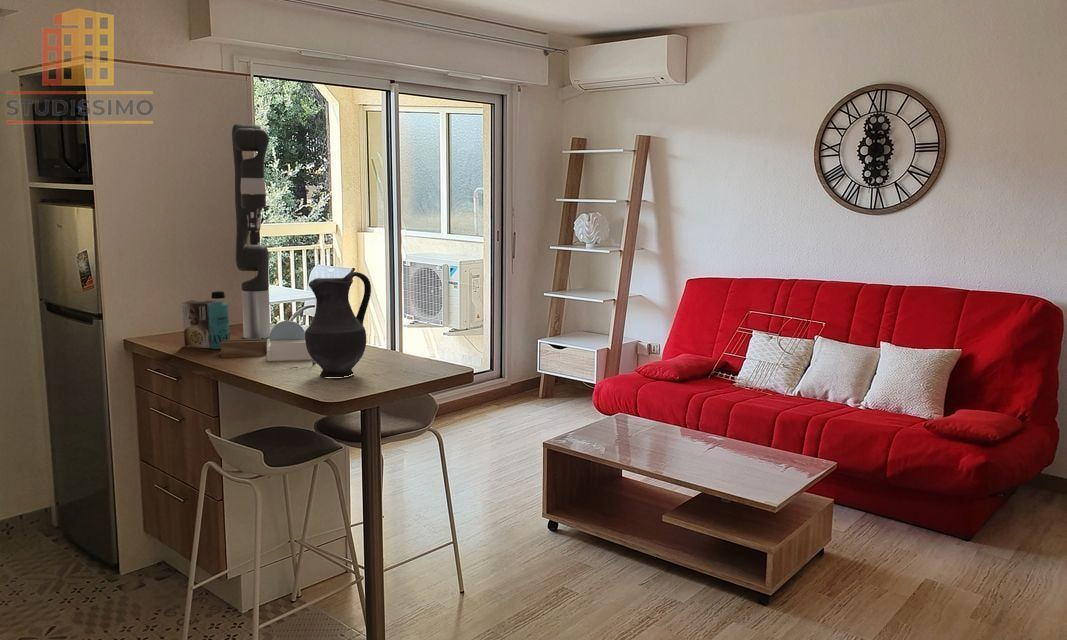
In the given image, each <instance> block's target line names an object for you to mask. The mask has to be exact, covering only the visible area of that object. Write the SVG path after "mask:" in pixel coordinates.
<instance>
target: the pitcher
mask: <svg viewBox="0 0 1067 640" xmlns="http://www.w3.org/2000/svg"><path fill="white" fill-rule="evenodd" d="M354 277H358V279H360V280H361V281H362V283H363V287H364V289H363V291H364V292H363V297H362V300H361V302H360V305H359V308H358V311H357V314H356V315H355V314H354V311H353V309H352V306H351V303H350V301H349V300H350V299H349V294H350V290H351V286H352V284H353V282H354V280H353V278H354ZM308 286H309V288H310V290H311V291H312V292H313V294H314V296H315V299H316V303H315V304H316V305H315V313H314V316H313V319H312V321H311V323H310V324H309V326H308V327H306V329H305V330H304V331H305V342H306V348H307V350H308V353H309V355H310V356H311V358H312V359H311V360H312V361H313V360H314V361H315V362H316V363H315V364H317V365H318V366H319V367H320V368H321V370H322V371H321V372H320V374H319V377H321V378H322V377H344V376H349V375H351V374H353V373H354V371H353V369H354V367H356V365H357V364H358V363H359V362H360V360H361V359H362V358H363V355H364V353H365V351H366V346H367V333H366V329H365V326H364V320H365V315H366V313H367V309H368V306H369V302H370V299H371V294H372V285H371V281H370V279H369V277H368V276H367V275H365V274H363V273H361V272H359V271H354V272H353V271H352V272H350V273H348V274H346V275H345V276H344V277H333V278H332V277H329V278H328V277H326V278H325V277H324V278H323V277H322V278H321V277H316V278H314V279H312V280H311V281H309V282H308Z"/></svg>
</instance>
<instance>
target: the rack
mask: <svg viewBox="0 0 1067 640" xmlns="http://www.w3.org/2000/svg"><path fill="white" fill-rule="evenodd" d="M266 359H267V360H266V362H274V361H275V362H277V361H305V360H307V361H308V360H312V364H317V363H316V362H315V361H314V360H313V359H312V358H311V356H310V355H309V353H308V350H307V348H306V342H305V340H282V341H271V343H270V342H269V344H268V345H267V355H266Z"/></svg>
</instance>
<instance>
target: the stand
mask: <svg viewBox="0 0 1067 640" xmlns="http://www.w3.org/2000/svg"><path fill="white" fill-rule="evenodd" d="M267 349H268V338H263V339H246V338H243V339H242V338H241V339H229V340H222V342H221V349H220V357H221V358H225V357H229V358H230V357H257V356H258V357H259V356H261V357H263V356H267Z"/></svg>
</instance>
